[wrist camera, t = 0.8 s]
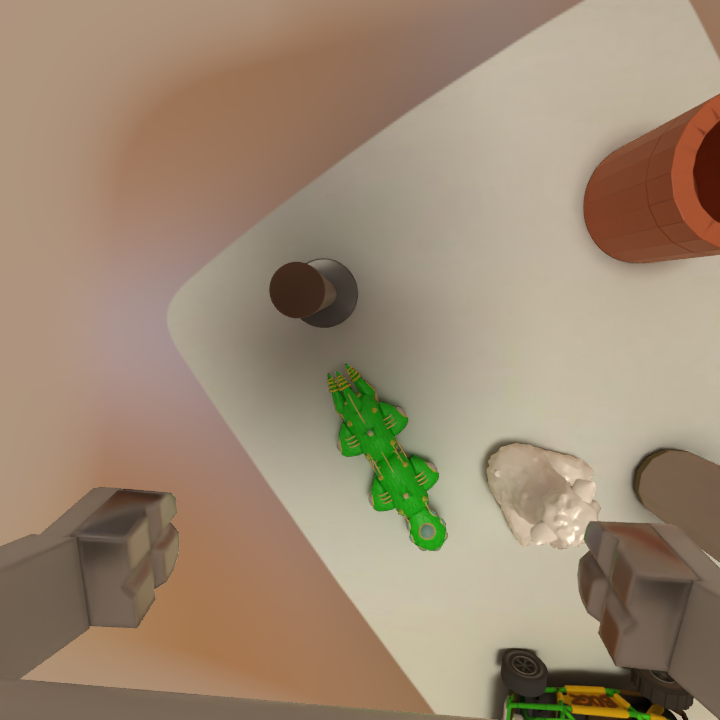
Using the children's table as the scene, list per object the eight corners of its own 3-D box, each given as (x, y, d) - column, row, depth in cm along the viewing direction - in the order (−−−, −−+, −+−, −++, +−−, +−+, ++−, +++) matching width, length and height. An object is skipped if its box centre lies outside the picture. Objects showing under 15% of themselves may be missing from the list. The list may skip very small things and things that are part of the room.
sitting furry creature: (521, 542, 44) (586, 633, 32) (452, 487, 43) (493, 560, 31) (589, 466, 43) (681, 531, 31) (520, 409, 42) (588, 453, 30)
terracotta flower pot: (575, 155, 39) (663, 101, 29) (692, 131, 39) (823, 68, 29) (591, 273, 41) (681, 265, 30) (704, 250, 41) (834, 233, 30)
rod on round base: (290, 269, 40) (207, 231, 16) (349, 257, 40) (353, 201, 16) (303, 329, 41) (243, 375, 17) (361, 317, 41) (383, 346, 17)
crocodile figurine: (401, 549, 44) (407, 576, 40) (304, 384, 41) (299, 394, 37) (463, 515, 44) (476, 539, 39) (370, 347, 41) (372, 353, 37)
